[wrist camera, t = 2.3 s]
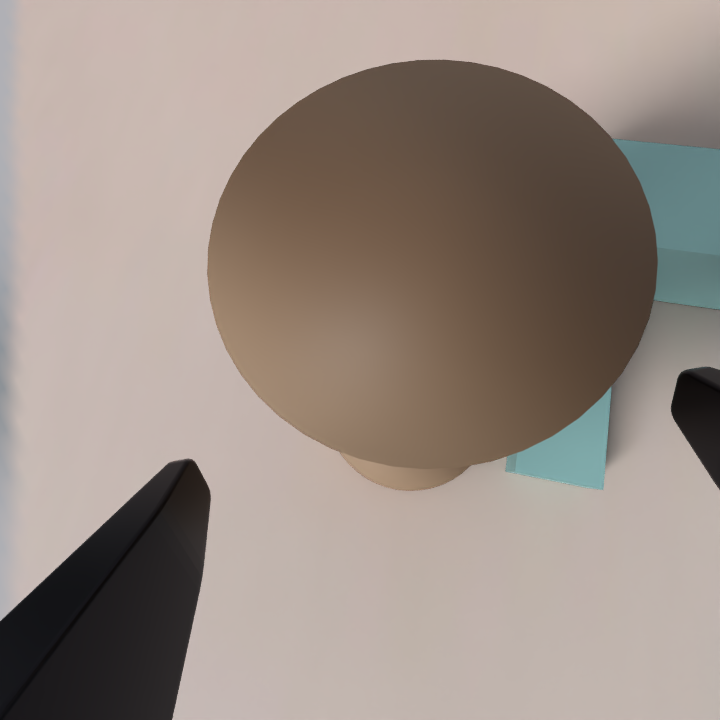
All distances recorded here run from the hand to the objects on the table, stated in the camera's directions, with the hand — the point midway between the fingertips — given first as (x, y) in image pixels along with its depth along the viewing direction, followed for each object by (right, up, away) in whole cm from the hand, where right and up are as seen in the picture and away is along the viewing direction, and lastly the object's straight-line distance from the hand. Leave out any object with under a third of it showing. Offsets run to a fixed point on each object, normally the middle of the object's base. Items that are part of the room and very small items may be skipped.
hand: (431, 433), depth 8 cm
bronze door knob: (+1, -1, +10) cm, 10 cm away
